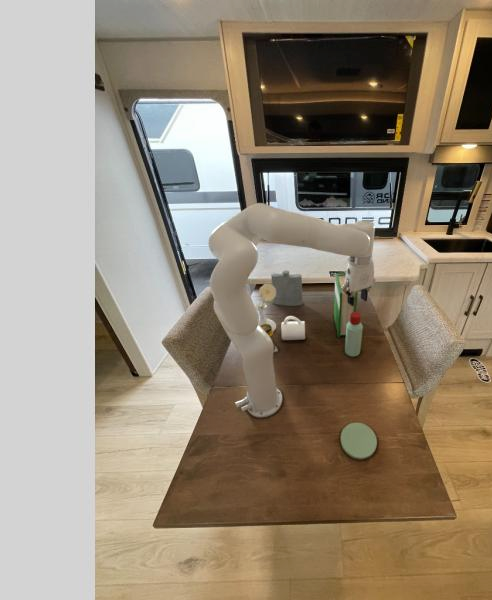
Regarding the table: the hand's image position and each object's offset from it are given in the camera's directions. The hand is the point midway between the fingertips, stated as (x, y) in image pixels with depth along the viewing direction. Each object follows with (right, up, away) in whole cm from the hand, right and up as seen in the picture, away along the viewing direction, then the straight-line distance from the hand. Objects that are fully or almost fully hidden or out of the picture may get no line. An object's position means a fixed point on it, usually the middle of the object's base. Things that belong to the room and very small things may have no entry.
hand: (357, 301), depth 101 cm
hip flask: (-32, -2, +45) cm, 56 cm away
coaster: (-2, -43, -20) cm, 47 cm away
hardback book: (-3, -12, +29) cm, 32 cm away
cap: (0, -8, +5) cm, 10 cm away
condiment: (-38, -21, +14) cm, 46 cm away
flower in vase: (-40, -14, +26) cm, 50 cm away
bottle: (0, -22, +14) cm, 26 cm away
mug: (-26, -17, +21) cm, 38 cm away
